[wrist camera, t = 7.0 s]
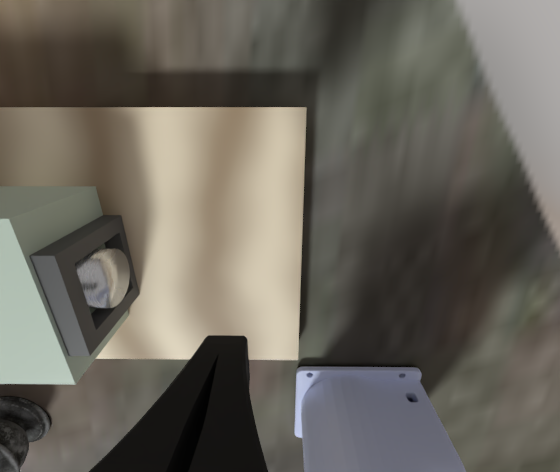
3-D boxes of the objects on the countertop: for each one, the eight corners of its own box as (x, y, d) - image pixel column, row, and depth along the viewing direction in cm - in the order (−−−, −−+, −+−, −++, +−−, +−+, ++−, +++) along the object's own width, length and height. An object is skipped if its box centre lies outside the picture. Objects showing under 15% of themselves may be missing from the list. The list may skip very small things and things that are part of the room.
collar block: (114, 186, 15) (36, 219, 10) (144, 315, 18) (96, 384, 13) (-55, 186, 15) (-210, 218, 10) (6, 314, 18) (-90, 383, 13)
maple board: (304, 108, 15) (306, 107, 13) (297, 344, 21) (298, 359, 20) (-113, 108, 15) (-154, 107, 13) (4, 341, 21) (-16, 357, 20)
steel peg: (122, 239, 15) (87, 266, 12) (134, 286, 16) (103, 321, 14) (-43, 238, 15) (-115, 265, 12) (-20, 285, 16) (-81, 320, 14)
